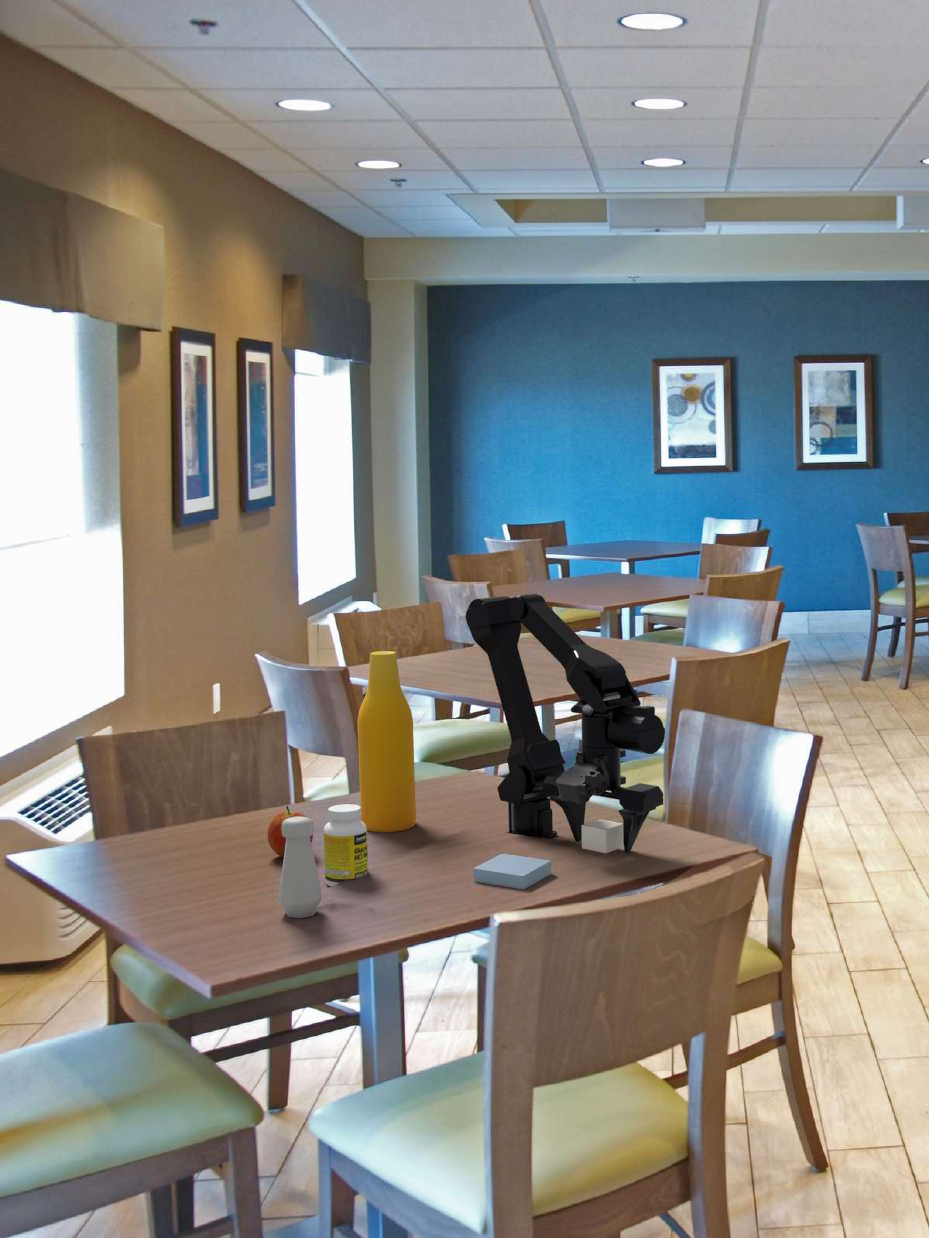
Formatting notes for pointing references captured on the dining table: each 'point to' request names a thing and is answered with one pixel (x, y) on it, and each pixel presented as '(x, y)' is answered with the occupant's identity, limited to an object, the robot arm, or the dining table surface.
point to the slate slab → (512, 871)
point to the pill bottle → (345, 845)
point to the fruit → (280, 831)
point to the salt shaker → (299, 870)
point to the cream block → (602, 836)
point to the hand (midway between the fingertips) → (602, 846)
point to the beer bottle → (386, 750)
